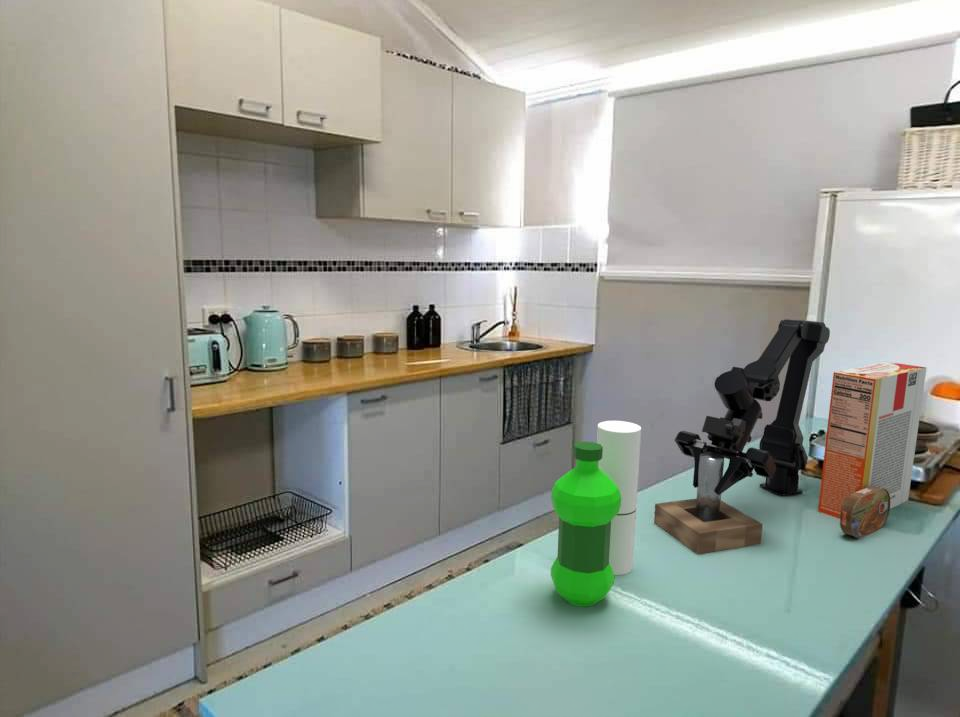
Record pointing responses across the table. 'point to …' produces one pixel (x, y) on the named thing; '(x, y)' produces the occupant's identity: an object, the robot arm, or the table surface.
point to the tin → (865, 511)
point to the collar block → (707, 527)
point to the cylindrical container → (621, 486)
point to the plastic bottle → (584, 528)
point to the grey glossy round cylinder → (709, 487)
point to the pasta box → (871, 432)
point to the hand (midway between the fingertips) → (705, 490)
